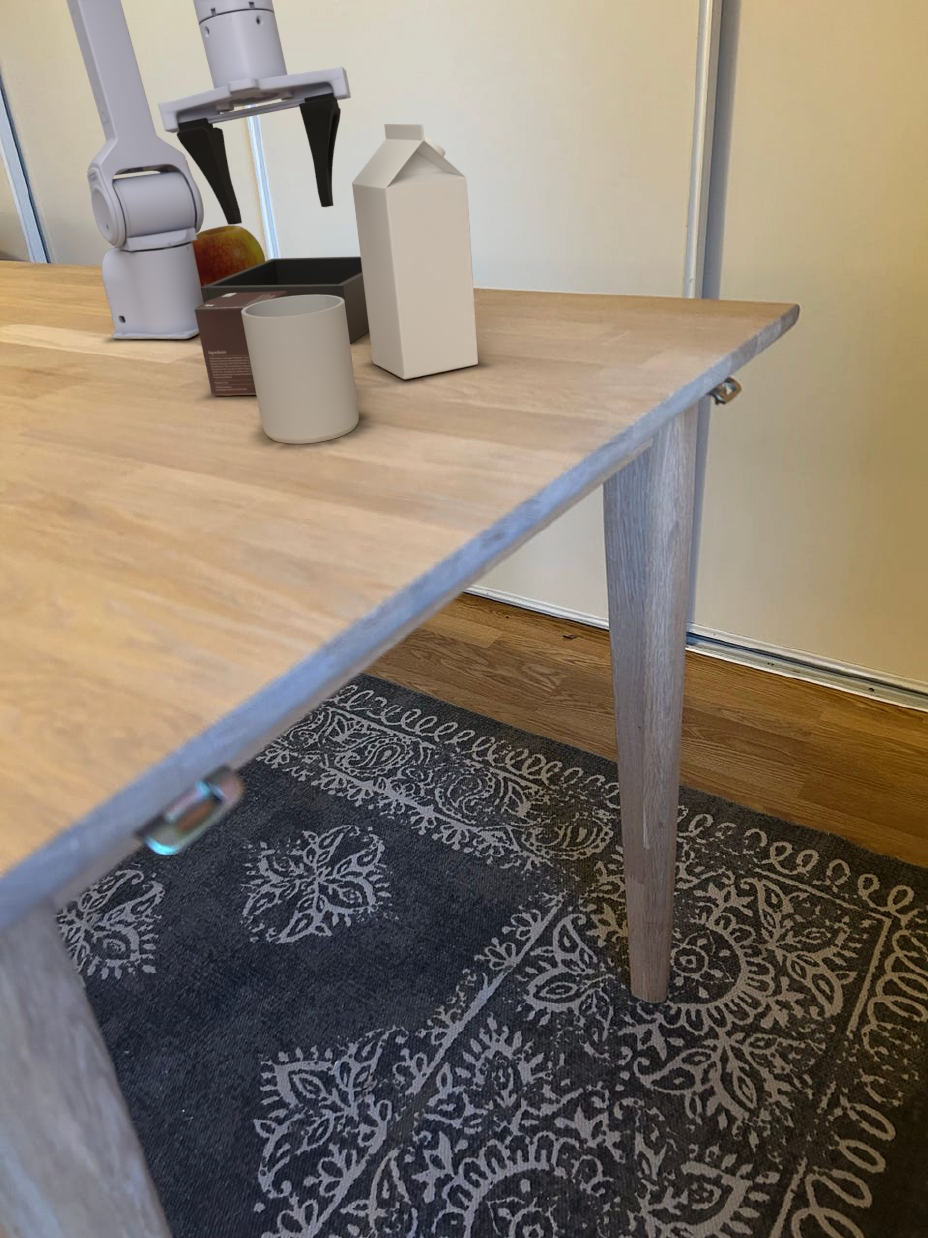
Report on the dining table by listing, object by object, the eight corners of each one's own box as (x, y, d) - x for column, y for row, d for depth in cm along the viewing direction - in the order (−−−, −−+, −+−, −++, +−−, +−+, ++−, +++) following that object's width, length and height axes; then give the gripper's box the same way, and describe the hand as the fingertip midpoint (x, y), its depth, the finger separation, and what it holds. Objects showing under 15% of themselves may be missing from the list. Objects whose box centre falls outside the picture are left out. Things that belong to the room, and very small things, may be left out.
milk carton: (404, 381, 80) (379, 128, 70) (372, 364, 85) (344, 128, 76) (479, 366, 82) (464, 120, 73) (443, 350, 88) (424, 120, 78)
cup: (278, 452, 67) (255, 323, 62) (245, 415, 75) (222, 299, 70) (373, 431, 69) (358, 305, 64) (331, 398, 77) (315, 284, 73)
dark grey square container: (211, 343, 97) (199, 287, 94) (279, 308, 110) (271, 258, 107) (350, 343, 92) (343, 285, 90) (405, 307, 105) (400, 255, 102)
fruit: (178, 302, 117) (164, 233, 113) (226, 286, 124) (214, 221, 120) (238, 304, 113) (225, 233, 109) (285, 289, 120) (274, 221, 116)
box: (276, 396, 79) (261, 305, 75) (210, 397, 80) (191, 308, 76) (302, 375, 84) (288, 289, 80) (239, 376, 85) (222, 291, 81)
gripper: (126, 29, 68) (179, 231, 73) (323, -12, 66) (363, 197, 72) (157, 46, 74) (204, 230, 79) (337, 9, 73) (373, 199, 78)
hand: (281, 215), depth 76 cm, fingers open, 7 cm apart
